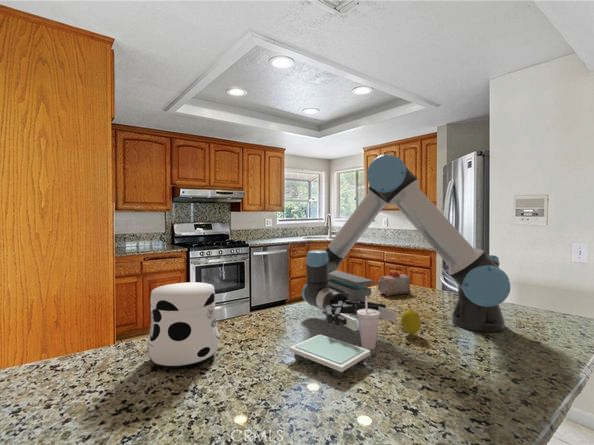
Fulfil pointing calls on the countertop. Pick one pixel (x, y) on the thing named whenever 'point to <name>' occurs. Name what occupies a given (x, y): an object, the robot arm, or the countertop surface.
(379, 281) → the grey boxy piece
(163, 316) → the milk container
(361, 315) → the smoothie
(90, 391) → the countertop surface
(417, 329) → the lemon
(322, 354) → the tray
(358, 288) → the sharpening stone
